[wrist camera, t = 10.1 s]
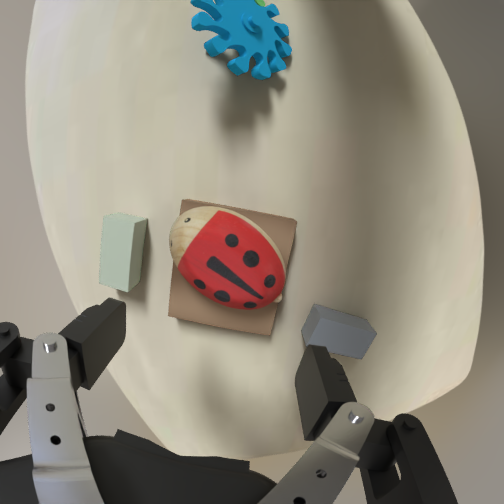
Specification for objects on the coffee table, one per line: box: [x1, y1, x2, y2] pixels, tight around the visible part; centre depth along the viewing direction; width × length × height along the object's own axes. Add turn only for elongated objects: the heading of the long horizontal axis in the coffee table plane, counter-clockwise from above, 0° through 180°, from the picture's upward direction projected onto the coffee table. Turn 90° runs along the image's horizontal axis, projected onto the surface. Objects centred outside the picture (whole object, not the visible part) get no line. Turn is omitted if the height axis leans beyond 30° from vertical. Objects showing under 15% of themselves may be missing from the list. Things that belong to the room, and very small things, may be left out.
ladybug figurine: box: [169, 206, 286, 310], centre depth 19 cm, size 7×10×4 cm
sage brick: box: [99, 213, 147, 292], centre depth 22 cm, size 6×3×3 cm, turn 167°
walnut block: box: [168, 199, 297, 336], centre depth 23 cm, size 10×9×3 cm
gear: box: [191, 0, 292, 80], centre depth 16 cm, size 11×6×10 cm
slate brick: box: [301, 304, 377, 359], centre depth 23 cm, size 6×3×3 cm, turn 70°
